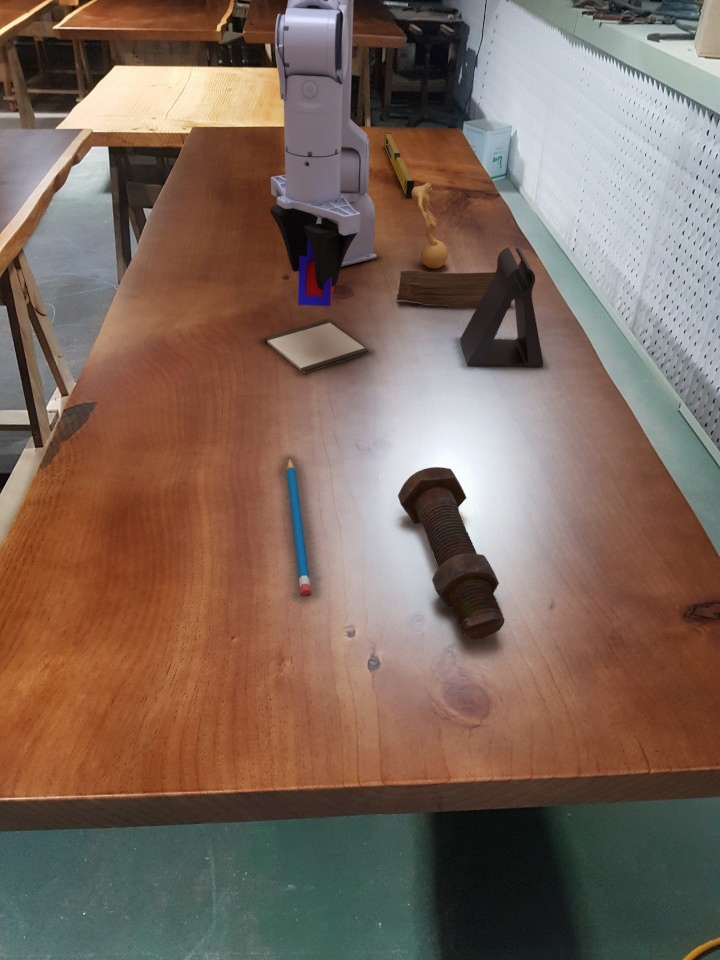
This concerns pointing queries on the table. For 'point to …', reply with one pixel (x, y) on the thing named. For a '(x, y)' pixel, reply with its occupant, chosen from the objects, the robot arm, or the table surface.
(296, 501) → the pencil
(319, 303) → the toy building block
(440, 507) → the bolt
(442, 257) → the figurine
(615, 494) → the table surface
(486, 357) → the phone stand
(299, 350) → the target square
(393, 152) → the spirit level
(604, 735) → the table surface
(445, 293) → the wood plank
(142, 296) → the table surface
